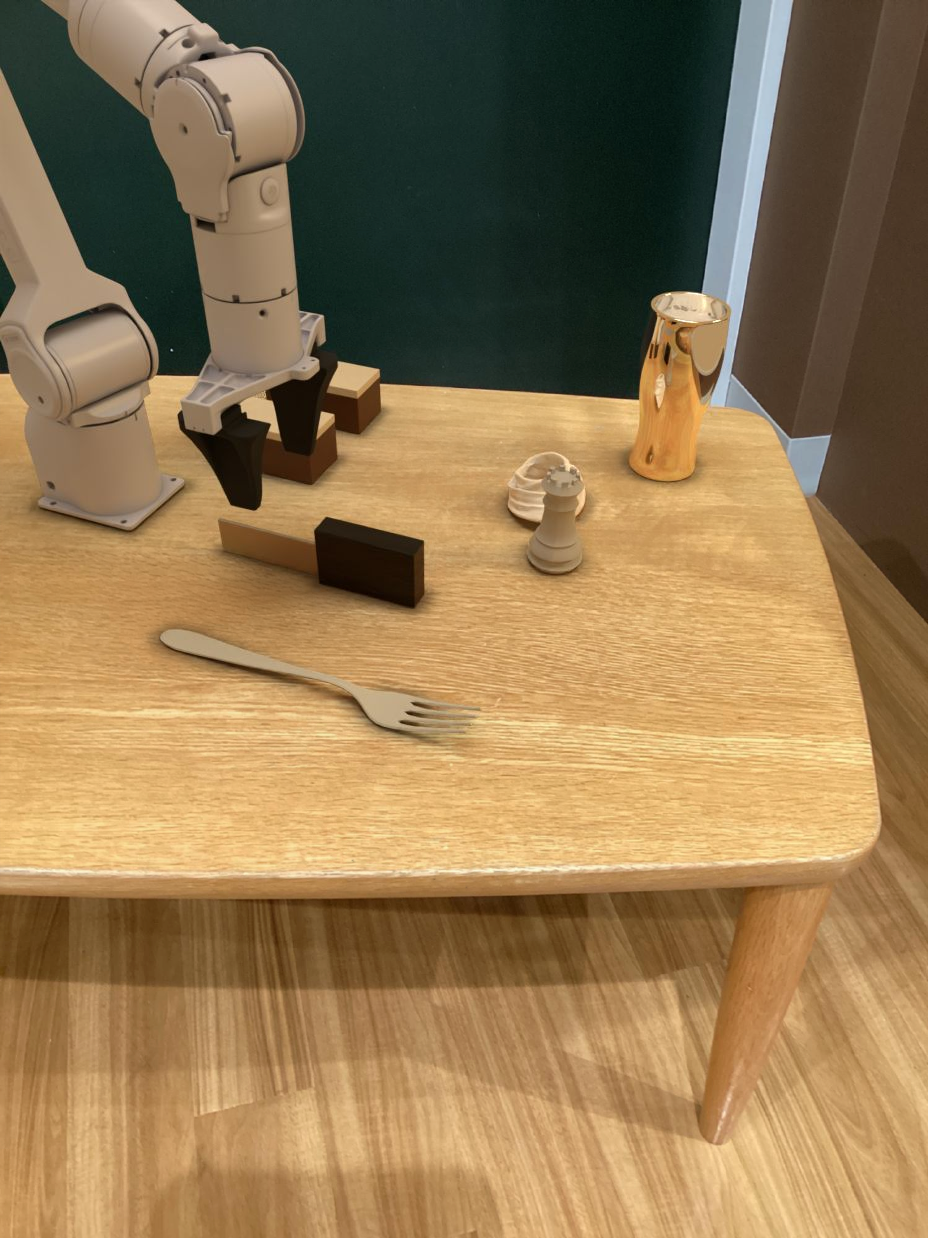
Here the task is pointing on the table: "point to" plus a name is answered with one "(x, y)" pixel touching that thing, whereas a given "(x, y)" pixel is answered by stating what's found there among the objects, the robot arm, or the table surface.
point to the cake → (288, 462)
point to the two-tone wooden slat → (340, 557)
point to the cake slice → (352, 397)
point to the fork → (376, 704)
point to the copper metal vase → (677, 380)
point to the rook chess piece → (558, 523)
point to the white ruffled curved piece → (536, 486)
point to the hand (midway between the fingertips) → (273, 477)
